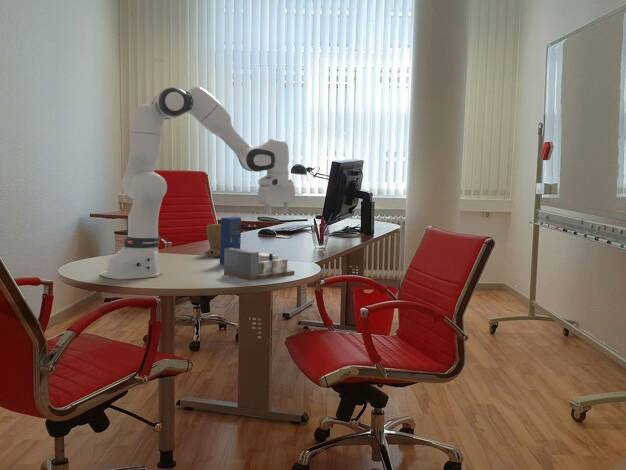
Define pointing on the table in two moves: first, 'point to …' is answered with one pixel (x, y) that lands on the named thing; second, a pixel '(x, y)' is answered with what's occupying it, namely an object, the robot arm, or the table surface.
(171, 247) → the table surface
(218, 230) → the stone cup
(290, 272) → the gauge base
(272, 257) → the drag needle
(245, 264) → the grey rectangular block
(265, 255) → the plunger
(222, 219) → the electronic device
